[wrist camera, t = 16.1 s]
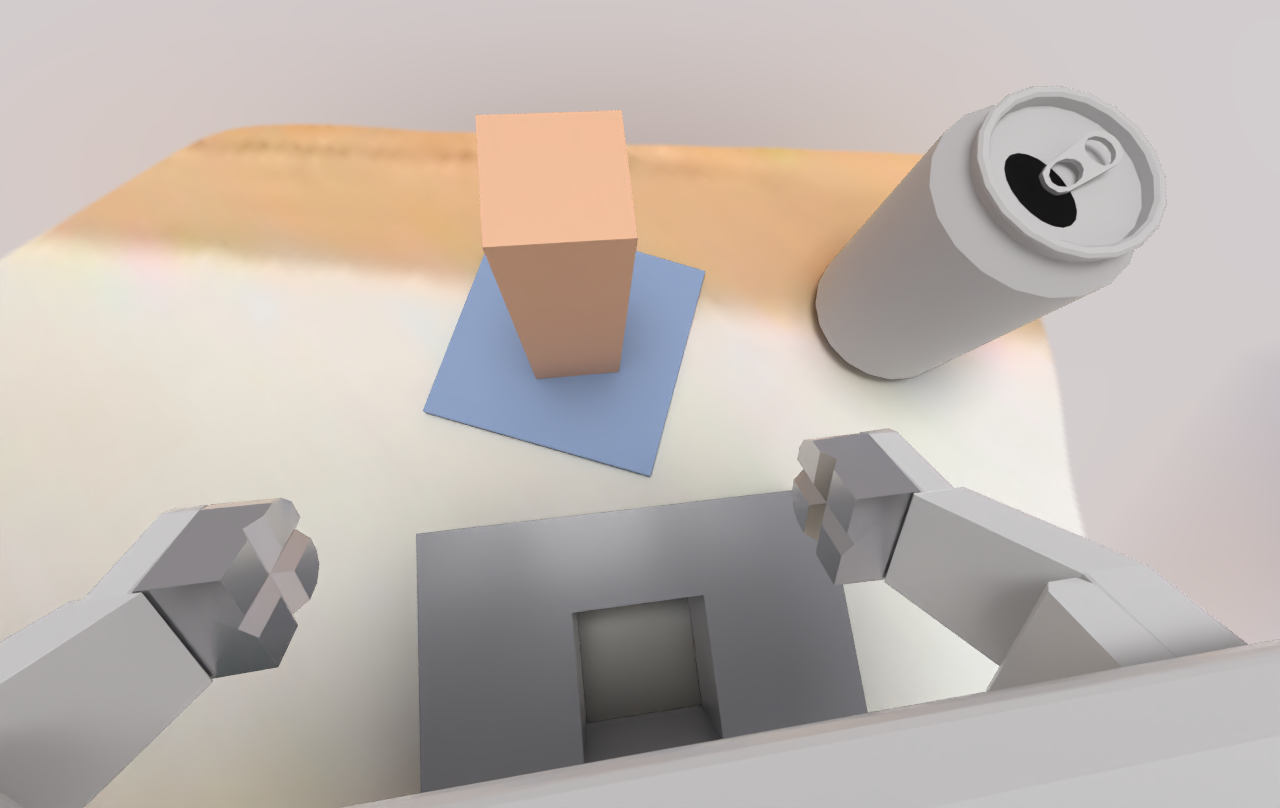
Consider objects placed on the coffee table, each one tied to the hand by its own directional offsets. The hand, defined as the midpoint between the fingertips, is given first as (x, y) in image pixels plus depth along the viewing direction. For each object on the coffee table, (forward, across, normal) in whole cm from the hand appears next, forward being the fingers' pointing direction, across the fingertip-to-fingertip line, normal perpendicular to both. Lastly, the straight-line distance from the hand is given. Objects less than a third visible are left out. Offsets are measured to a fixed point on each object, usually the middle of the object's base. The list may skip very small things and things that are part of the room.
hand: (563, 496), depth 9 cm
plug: (+17, 0, +5) cm, 18 cm away
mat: (+17, 0, +5) cm, 18 cm away
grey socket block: (+7, -2, +15) cm, 17 cm away
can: (+17, -16, +5) cm, 24 cm away
